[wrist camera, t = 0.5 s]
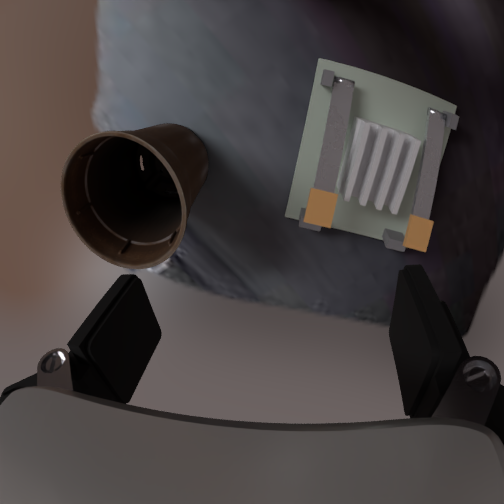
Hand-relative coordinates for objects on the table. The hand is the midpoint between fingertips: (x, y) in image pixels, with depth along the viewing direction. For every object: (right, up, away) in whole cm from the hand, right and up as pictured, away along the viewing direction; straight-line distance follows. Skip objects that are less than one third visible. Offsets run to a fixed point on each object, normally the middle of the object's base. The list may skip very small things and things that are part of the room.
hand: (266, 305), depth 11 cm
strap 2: (+22, +11, +24) cm, 34 cm away
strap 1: (+9, +14, +24) cm, 29 cm away
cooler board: (+16, +15, +28) cm, 36 cm away
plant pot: (-12, +15, +33) cm, 39 cm away
